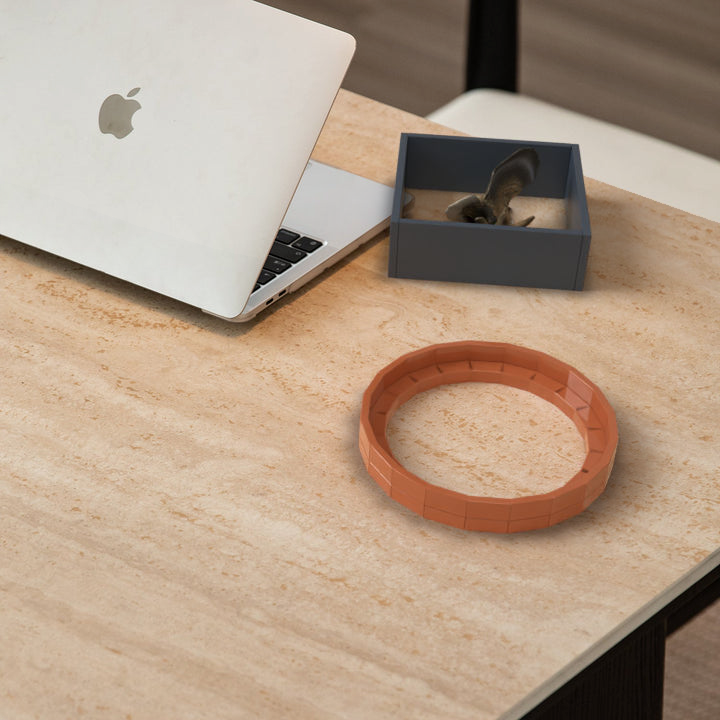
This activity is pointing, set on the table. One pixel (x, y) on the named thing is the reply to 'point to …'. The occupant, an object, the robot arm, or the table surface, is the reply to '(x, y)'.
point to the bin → (484, 241)
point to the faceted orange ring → (500, 368)
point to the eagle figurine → (500, 191)
